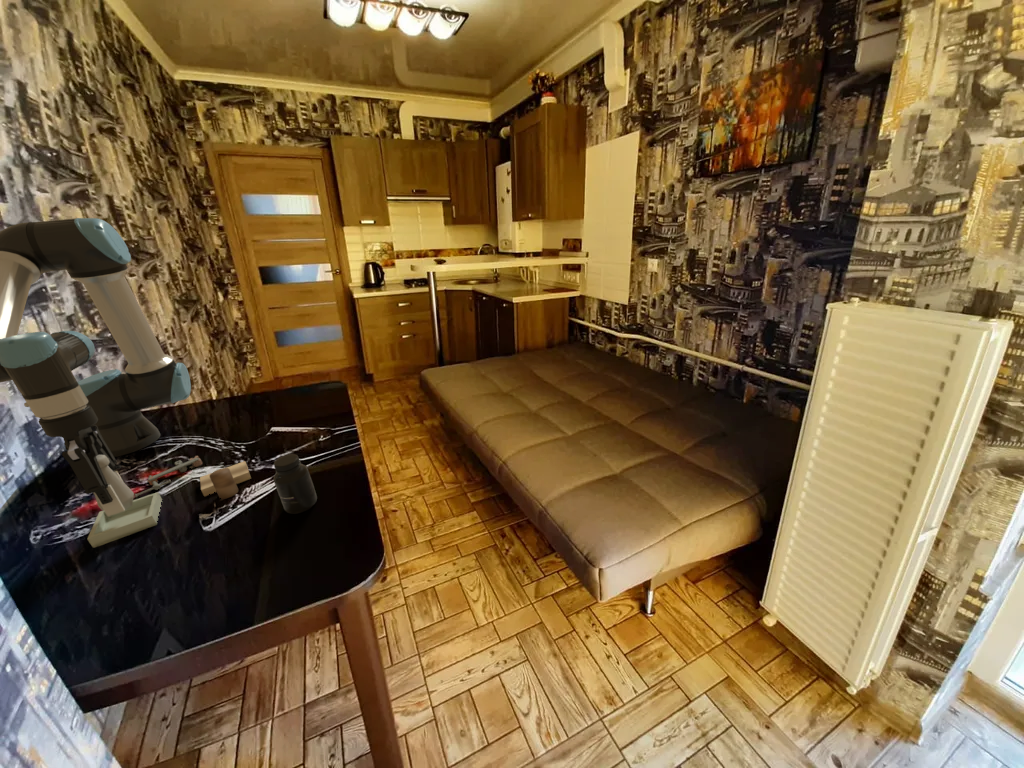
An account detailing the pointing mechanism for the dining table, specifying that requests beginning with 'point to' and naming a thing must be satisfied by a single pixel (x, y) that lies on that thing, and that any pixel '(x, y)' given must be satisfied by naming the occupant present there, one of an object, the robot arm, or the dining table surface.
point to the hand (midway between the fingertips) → (119, 504)
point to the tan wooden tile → (238, 473)
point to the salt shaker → (115, 483)
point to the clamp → (179, 465)
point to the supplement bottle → (294, 484)
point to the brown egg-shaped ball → (224, 483)
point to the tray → (126, 520)
